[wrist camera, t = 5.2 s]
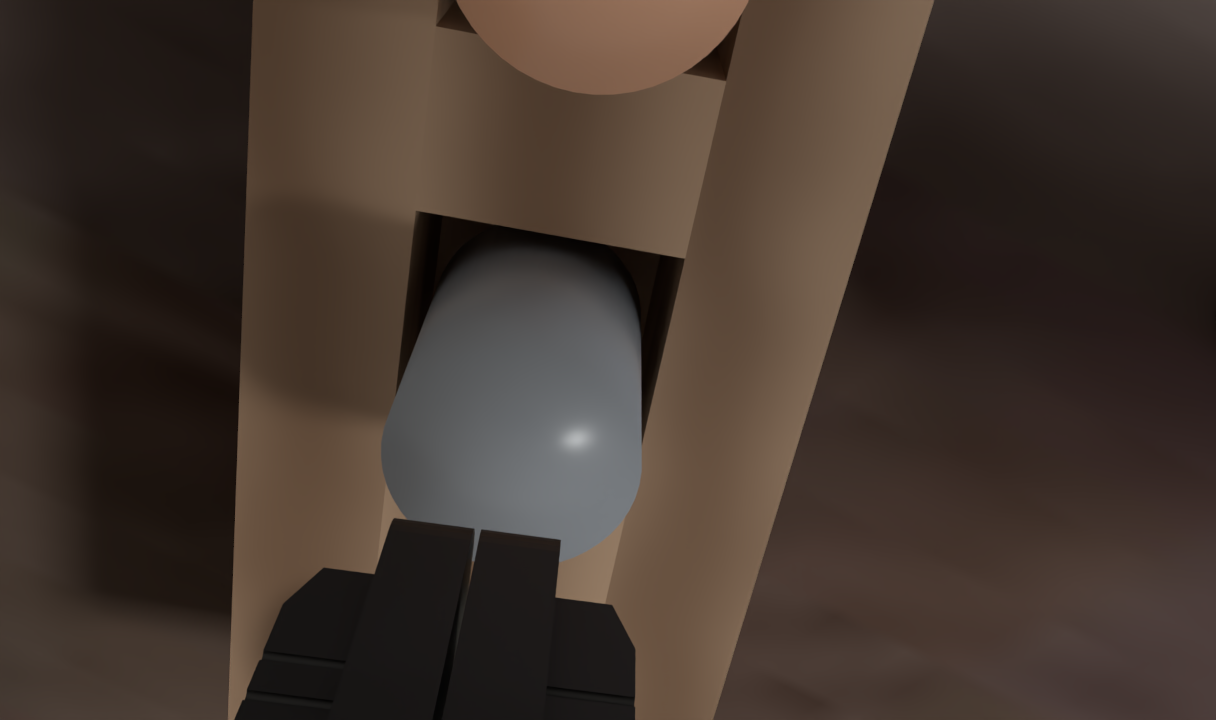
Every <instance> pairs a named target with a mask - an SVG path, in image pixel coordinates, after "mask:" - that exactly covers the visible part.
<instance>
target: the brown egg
mask: <svg viewBox="0 0 1216 720" xmlns="http://www.w3.org/2000/svg"><path fill="white" fill-rule="evenodd" d="M456 1H457V3H458V5H459V7H460V9H461V10H462V12H463V14H464V15H465V17H466V18H467V20H468V21H469V23H470V25H471V26H472V27H473V29H474V30H475V31H476V32H477V33H478V35H479V36H480V37H481V38H482V39H483V41H484V42H485V43H486V44H487V45H488V46H489V47H490V48H491V49H492V50H493V51H494V52H495V53H497V54H498V55H499V56H500V57H501V58H502V59H504V60H505V61H506V62H508V63H509V64H510V65H512V66H513V67H514V68H516V69H517V70H519V71H521V72H522V73H524V74H526V75H528V76H530V77H532V78H533V79H535V80H537V81H540V82H542V83H545V84H547V85H550V86H553V87H555V88H559V89H563V90H567V91H571V92H576V93H584V94H592V95H615V94H622V93H629V92H636V91H639V90H643V89H646V88H650V87H654V86H656V85H659V84H661V83H663V82H666V81H668V80H670V79H673V78H675V77H676V76H678V75H680V74H681V73H683V72H685V71H687V70H688V69H690V68H692V67H693V66H694V65H695V64H697V63H698V62H699V61H701V60H702V59H703V58H705V57H706V56H707V55H708V54H709V53H710V52H711V51H712V50H713V49H714V48H715V47H716V46H717V45H718V44H719V43H720V42H721V41H722V40H723V39H724V38H725V36H726V35H727V34H728V33H729V31H730V30H731V29H732V28H733V26H734V25H735V24H736V22H737V20H738V19H739V17H740V15H741V14H742V12H743V10H744V9H745V7H746V5H747V3H748V1H749V0H456Z"/></svg>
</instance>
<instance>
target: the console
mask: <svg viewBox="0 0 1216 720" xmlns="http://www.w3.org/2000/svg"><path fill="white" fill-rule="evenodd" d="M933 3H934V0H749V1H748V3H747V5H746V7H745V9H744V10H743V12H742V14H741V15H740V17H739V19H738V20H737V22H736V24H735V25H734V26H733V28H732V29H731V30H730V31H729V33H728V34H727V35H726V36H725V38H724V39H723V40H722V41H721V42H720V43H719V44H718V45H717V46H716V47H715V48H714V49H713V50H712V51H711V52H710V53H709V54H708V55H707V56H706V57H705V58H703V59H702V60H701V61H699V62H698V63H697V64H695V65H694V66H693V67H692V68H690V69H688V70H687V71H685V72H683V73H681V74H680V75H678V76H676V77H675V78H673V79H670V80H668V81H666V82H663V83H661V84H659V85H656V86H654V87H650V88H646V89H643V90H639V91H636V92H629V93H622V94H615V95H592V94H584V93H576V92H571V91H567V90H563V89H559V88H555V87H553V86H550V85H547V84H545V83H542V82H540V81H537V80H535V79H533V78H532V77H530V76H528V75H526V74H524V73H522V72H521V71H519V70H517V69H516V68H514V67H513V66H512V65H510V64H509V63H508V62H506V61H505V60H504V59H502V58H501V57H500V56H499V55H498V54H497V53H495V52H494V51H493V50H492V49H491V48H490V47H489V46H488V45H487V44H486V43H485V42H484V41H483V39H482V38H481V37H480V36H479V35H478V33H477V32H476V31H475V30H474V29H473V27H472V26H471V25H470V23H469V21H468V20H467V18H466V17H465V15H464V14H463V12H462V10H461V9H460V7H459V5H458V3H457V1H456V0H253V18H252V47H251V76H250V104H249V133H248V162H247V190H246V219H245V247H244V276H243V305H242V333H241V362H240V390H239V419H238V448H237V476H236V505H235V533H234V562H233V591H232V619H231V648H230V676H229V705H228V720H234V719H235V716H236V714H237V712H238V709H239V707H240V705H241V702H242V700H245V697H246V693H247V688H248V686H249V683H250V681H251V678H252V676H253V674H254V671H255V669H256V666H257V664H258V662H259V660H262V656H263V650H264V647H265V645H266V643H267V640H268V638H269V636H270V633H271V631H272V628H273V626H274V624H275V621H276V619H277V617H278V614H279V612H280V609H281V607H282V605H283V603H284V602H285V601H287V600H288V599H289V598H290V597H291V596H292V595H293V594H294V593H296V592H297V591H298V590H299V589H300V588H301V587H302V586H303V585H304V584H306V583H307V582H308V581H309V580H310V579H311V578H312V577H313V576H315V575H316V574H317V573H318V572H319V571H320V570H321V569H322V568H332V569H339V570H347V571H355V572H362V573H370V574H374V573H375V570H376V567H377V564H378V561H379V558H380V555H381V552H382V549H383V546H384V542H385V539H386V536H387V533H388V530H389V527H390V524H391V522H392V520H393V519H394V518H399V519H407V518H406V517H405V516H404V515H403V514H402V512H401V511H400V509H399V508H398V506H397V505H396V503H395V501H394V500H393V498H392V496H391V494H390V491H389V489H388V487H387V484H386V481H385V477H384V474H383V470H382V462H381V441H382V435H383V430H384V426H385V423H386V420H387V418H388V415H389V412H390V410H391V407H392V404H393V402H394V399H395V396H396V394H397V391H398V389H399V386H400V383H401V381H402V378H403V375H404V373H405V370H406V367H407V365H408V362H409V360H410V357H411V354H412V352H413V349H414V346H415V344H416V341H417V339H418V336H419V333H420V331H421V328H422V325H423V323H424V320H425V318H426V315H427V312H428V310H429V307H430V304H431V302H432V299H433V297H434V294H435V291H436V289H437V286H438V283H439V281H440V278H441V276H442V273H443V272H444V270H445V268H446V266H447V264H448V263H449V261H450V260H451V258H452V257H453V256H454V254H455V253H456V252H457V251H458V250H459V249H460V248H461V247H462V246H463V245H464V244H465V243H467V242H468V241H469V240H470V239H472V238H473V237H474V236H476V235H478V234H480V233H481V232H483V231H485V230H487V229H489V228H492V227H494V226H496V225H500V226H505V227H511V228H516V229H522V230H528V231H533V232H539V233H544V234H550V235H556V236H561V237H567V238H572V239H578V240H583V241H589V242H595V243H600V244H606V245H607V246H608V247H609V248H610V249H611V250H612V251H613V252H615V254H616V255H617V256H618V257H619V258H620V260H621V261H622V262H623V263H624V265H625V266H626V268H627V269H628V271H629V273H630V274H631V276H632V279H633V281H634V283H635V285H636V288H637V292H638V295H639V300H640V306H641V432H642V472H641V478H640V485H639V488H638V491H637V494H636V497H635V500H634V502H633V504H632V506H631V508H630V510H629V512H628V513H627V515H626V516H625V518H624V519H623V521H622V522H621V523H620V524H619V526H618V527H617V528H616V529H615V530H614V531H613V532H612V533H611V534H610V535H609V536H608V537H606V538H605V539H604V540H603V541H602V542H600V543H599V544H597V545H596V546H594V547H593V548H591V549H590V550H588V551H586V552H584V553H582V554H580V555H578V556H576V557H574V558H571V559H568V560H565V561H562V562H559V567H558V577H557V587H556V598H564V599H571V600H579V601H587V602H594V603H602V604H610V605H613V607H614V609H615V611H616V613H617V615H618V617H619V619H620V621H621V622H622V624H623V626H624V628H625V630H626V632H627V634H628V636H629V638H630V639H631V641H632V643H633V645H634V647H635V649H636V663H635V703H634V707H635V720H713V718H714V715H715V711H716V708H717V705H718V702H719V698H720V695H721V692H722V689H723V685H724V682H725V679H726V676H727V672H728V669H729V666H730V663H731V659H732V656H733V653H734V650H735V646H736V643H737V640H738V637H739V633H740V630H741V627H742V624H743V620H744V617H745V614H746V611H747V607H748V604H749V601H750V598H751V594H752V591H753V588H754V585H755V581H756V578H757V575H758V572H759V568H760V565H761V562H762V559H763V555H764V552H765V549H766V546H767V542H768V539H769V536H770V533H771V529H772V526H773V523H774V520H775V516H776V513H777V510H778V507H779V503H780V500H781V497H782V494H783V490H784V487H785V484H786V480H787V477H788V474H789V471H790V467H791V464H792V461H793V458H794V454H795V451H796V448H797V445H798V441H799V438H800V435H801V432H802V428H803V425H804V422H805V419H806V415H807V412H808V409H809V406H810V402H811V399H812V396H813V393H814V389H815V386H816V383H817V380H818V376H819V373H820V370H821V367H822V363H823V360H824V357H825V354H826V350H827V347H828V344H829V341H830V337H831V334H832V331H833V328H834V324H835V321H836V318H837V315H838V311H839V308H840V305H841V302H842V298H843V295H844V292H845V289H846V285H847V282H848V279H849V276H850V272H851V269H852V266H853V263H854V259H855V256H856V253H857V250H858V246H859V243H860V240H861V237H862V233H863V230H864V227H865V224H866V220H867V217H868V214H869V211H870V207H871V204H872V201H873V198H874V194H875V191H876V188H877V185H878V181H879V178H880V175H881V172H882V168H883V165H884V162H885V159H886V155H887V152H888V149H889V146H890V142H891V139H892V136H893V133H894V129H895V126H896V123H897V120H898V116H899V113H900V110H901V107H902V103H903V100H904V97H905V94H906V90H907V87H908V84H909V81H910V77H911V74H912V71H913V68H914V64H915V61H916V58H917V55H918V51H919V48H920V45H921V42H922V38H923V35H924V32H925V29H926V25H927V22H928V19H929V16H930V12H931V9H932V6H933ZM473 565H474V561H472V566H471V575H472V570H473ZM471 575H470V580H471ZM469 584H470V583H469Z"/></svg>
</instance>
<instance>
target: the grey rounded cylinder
mask: <svg viewBox="0 0 1216 720" xmlns="http://www.w3.org/2000/svg"><path fill="white" fill-rule="evenodd" d="M381 462H382V470H383V474H384V477H385V481H386V484H387V487H388V489H389V491H390V494H391V496H392V498H393V500H394V501H395V503H396V505H397V506H398V508H399V509H400V511H401V512H402V514H403V515H404V516H405V517H406V518H407V520H414V521H422V522H429V523H437V524H444V525H452V526H459V527H467V528H474V529H475V537H474V548H473V557H472V561H475V556H476V551H477V546H478V541H479V536H480V532H481V529H484V530H492V531H499V532H507V533H514V534H522V535H529V536H537V537H544V538H552V539H559V540H561V546H560V557H559V562H562V561H565V560H568V559H571V558H574V557H576V556H578V555H580V554H582V553H584V552H586V551H588V550H590V549H591V548H593V547H594V546H596V545H597V544H599V543H600V542H602V541H603V540H604V539H605V538H606V537H608V536H609V535H610V534H611V533H612V532H613V531H614V530H615V529H616V528H617V527H618V526H619V524H620V523H621V522H622V521H623V519H624V518H625V516H626V515H627V513H628V512H629V510H630V508H631V506H632V504H633V502H634V500H635V497H636V494H637V491H638V488H639V485H640V478H641V472H642V432H641V306H640V300H639V295H638V292H637V288H636V285H635V283H634V281H633V279H632V276H631V274H630V273H629V271H628V269H627V268H626V266H625V265H624V263H623V262H622V261H621V260H620V258H619V257H618V256H617V255H616V254H615V252H613V251H612V250H611V249H610V248H609V247H608V246H607V245H606V244H600V243H595V242H589V241H583V240H578V239H572V238H567V237H561V236H556V235H550V234H544V233H539V232H533V231H528V230H522V229H516V228H511V227H505V226H500V225H496V226H494V227H492V228H489V229H487V230H485V231H483V232H481V233H480V234H478V235H476V236H474V237H473V238H472V239H470V240H469V241H468V242H467V243H465V244H464V245H463V246H462V247H461V248H460V249H459V250H458V251H457V252H456V253H455V254H454V256H453V257H452V258H451V260H450V261H449V263H448V264H447V266H446V268H445V270H444V272H443V273H442V276H441V278H440V281H439V283H438V286H437V289H436V291H435V294H434V297H433V299H432V302H431V304H430V307H429V310H428V312H427V315H426V318H425V320H424V323H423V325H422V328H421V331H420V333H419V336H418V339H417V341H416V344H415V346H414V349H413V352H412V354H411V357H410V360H409V362H408V365H407V367H406V370H405V373H404V375H403V378H402V381H401V383H400V386H399V389H398V391H397V394H396V396H395V399H394V402H393V404H392V407H391V410H390V412H389V415H388V418H387V420H386V423H385V426H384V430H383V435H382V441H381Z"/></svg>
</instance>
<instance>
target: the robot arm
mask: <svg viewBox="0 0 1216 720" xmlns="http://www.w3.org/2000/svg"><path fill="white" fill-rule="evenodd" d="M474 537H475V529H474V528H467V527H459V526H452V525H444V524H437V523H429V522H422V521H414V520H407V519H399V518H394V519H393V520H392V522H391V524H390V527H389V530H388V533H387V536H386V539H385V542H384V546H383V549H382V552H381V555H380V558H379V561H378V564H377V567H376V570H375V573H374V574H370V573H362V572H355V571H347V570H339V569H332V568H322V569H321V570H320V571H319V572H318V573H317V574H316V575H315V576H313V577H312V578H311V579H310V580H309V581H308V582H307V583H306V584H304V585H303V586H302V587H301V588H300V589H299V590H298V591H297V592H296V593H294V594H293V595H292V596H291V597H290V598H289V599H288V600H287V601H285V602H284V603H283V605H282V607H281V609H280V612H279V614H278V617H277V619H276V621H275V624H274V626H273V628H272V631H271V633H270V636H269V638H268V640H267V643H266V645H265V647H264V650H263V656H262V660H259V662H258V664H257V666H256V669H255V671H254V674H253V676H252V678H251V681H250V683H249V686H248V688H247V693H246V697H245V700H242V702H241V705H240V707H239V709H238V712H237V714H236V716H235V719H234V720H635V707H634V703H635V663H636V649H635V647H634V645H633V643H632V641H631V639H630V638H629V636H628V634H627V632H626V630H625V628H624V626H623V624H622V622H621V621H620V619H619V617H618V615H617V613H616V611H615V609H614V607H613V605H610V604H602V603H594V602H587V601H579V600H571V599H564V598H556V587H557V577H558V567H559V557H560V546H561V540H559V539H552V538H544V537H537V536H529V535H522V534H514V533H507V532H499V531H492V530H484V529H481V532H480V536H479V541H478V546H477V551H476V556H475V561H474V565H473V570H472V575H471V566H472V557H473V548H474ZM470 575H471V580H470ZM469 583H470V585H469Z"/></svg>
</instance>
